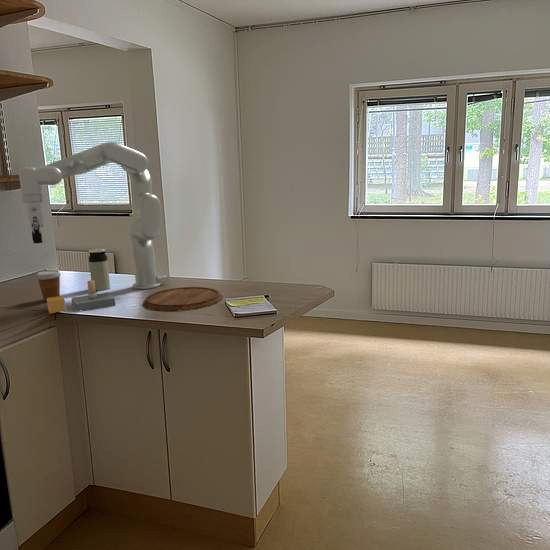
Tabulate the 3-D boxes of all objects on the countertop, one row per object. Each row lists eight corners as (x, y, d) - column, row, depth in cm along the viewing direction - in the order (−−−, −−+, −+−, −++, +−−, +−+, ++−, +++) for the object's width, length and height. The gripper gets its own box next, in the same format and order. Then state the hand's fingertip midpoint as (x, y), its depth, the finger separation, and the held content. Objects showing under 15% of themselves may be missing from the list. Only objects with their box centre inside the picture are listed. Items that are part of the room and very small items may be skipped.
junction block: (109, 299, 227) (107, 276, 225) (115, 305, 216) (112, 281, 214) (72, 304, 220) (69, 281, 218) (76, 311, 210) (73, 286, 208)
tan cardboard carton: (64, 307, 216) (62, 295, 215) (66, 311, 211) (64, 298, 210) (48, 310, 213) (46, 298, 212) (49, 313, 208) (47, 301, 207)
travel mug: (105, 290, 243) (101, 251, 239) (89, 290, 244) (84, 251, 240) (113, 286, 250) (109, 248, 247) (97, 286, 252) (93, 248, 248)
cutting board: (233, 292, 231) (233, 287, 230) (204, 313, 201) (203, 307, 200) (165, 291, 239) (165, 285, 239) (128, 310, 209) (127, 304, 209)
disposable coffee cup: (42, 303, 224) (38, 275, 222) (37, 299, 232) (34, 272, 229) (65, 299, 229) (62, 272, 227) (60, 295, 237) (57, 269, 234)
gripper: (43, 199, 207) (48, 243, 211) (41, 197, 223) (46, 238, 226) (22, 200, 204) (27, 245, 207) (21, 198, 219) (26, 240, 223)
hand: (37, 241), depth 217 cm, fingers open, 9 cm apart
